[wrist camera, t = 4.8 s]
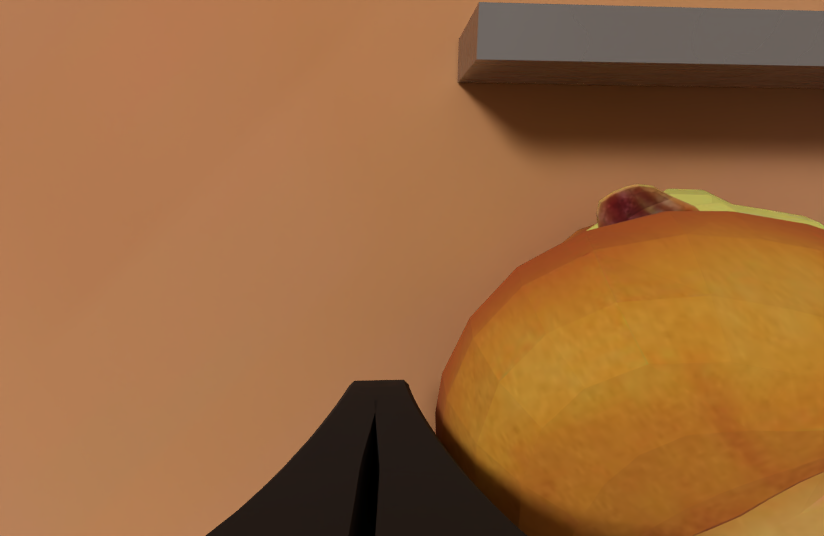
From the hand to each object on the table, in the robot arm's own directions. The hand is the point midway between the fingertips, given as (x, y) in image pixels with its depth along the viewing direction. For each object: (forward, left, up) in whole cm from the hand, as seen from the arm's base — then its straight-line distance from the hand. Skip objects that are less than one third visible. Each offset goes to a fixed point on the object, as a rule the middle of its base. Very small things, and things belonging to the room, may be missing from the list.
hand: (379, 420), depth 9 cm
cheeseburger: (0, -7, -4) cm, 8 cm away
